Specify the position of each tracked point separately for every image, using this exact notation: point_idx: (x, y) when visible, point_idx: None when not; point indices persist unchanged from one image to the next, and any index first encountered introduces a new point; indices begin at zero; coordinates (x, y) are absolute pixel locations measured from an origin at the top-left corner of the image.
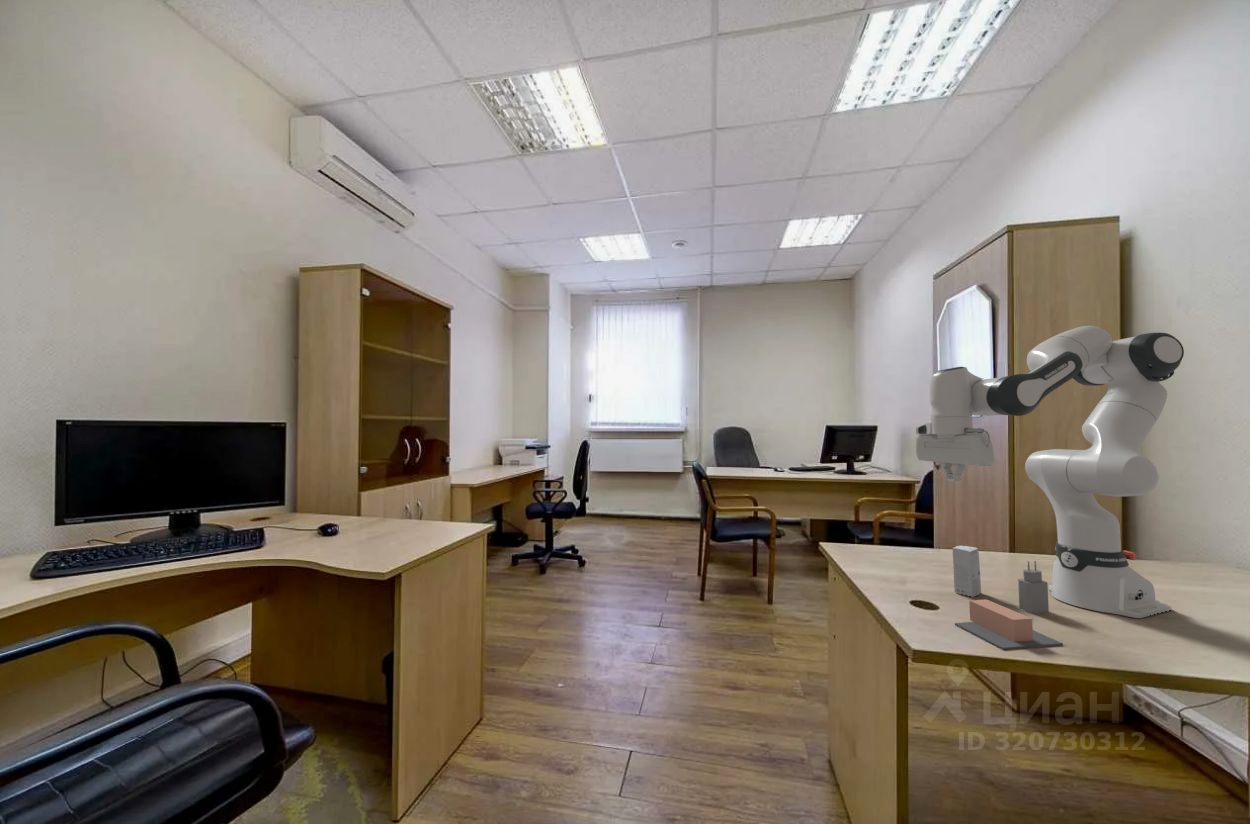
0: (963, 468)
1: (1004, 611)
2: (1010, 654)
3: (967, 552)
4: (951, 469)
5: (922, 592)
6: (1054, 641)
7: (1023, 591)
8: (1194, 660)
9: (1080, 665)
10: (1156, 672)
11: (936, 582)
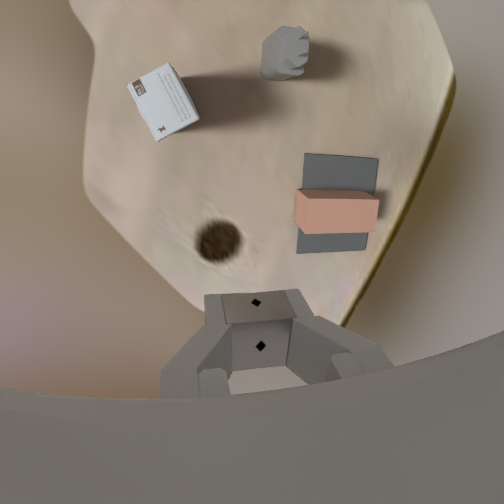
0: (372, 353)
1: (352, 216)
2: (372, 249)
3: (192, 122)
4: (213, 348)
5: (160, 200)
6: (372, 164)
7: (284, 76)
8: (425, 49)
9: (408, 194)
10: (433, 128)
11: (108, 125)
